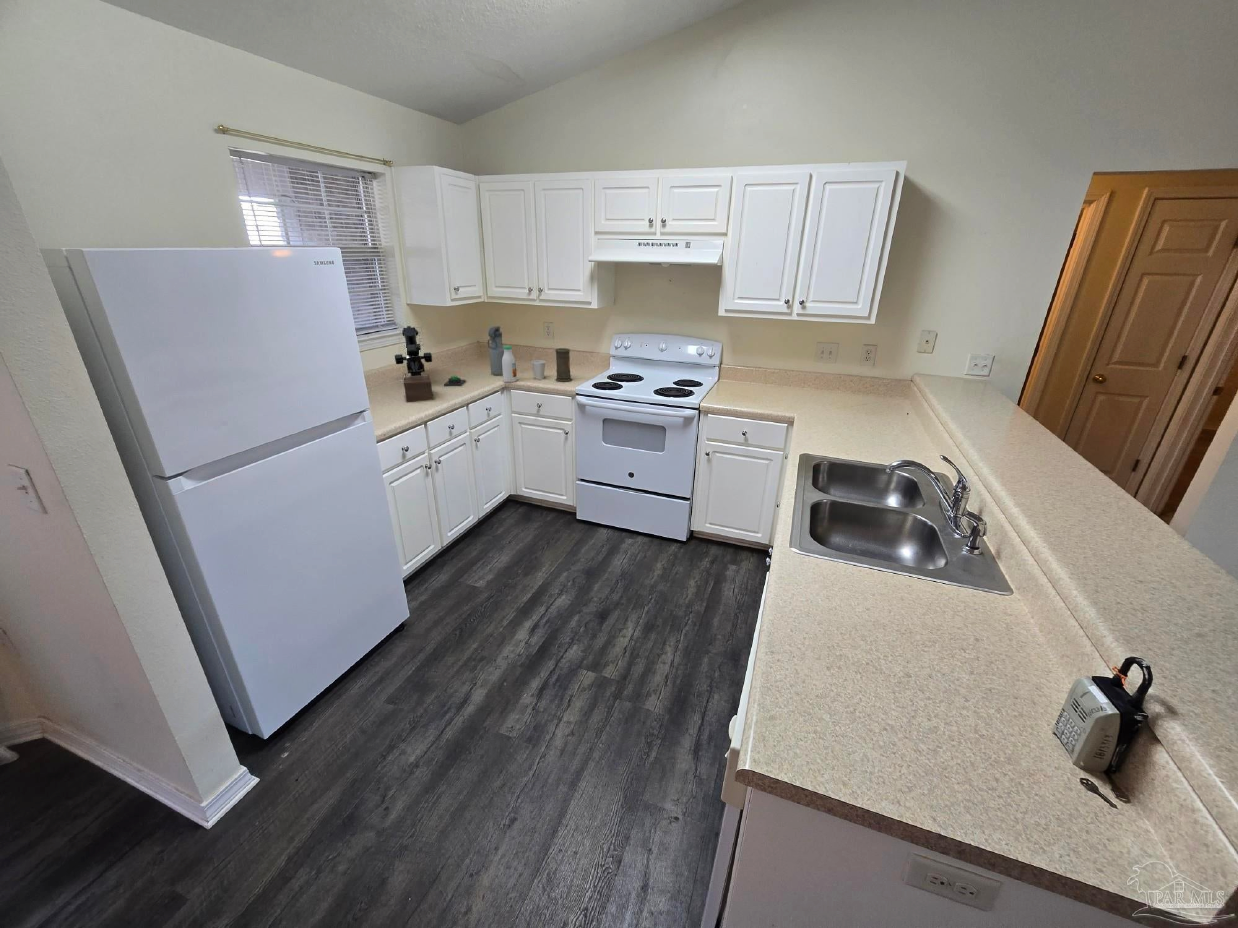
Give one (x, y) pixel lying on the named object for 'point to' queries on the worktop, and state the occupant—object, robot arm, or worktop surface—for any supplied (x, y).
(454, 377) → the button
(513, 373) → the milk bottle
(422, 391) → the brown block
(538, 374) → the dixie cup
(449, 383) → the control block
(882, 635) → the worktop surface
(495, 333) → the water bottle
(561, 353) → the container
